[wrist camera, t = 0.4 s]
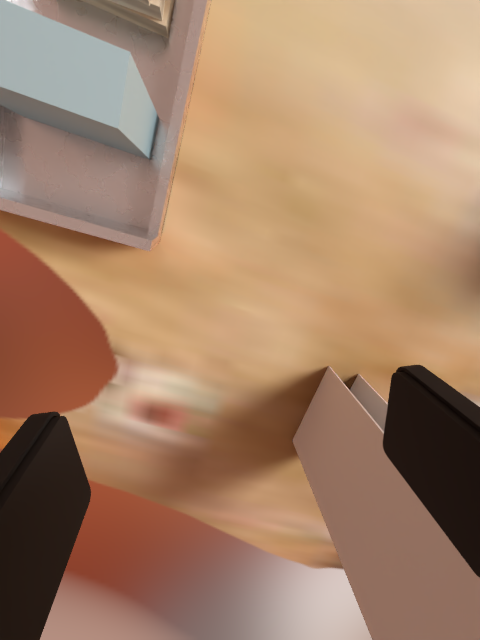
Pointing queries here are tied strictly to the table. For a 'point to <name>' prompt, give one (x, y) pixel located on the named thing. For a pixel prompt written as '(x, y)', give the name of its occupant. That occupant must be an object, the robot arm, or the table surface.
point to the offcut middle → (144, 7)
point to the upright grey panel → (382, 522)
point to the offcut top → (145, 2)
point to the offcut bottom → (139, 15)
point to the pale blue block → (73, 82)
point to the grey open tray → (99, 159)
